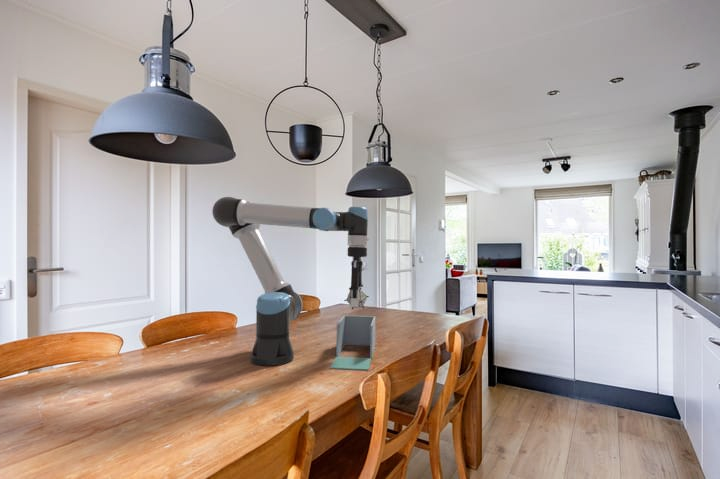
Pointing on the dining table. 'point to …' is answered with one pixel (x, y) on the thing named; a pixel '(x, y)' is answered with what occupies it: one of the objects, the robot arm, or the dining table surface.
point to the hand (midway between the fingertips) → (356, 304)
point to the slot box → (356, 332)
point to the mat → (351, 363)
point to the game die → (360, 302)
